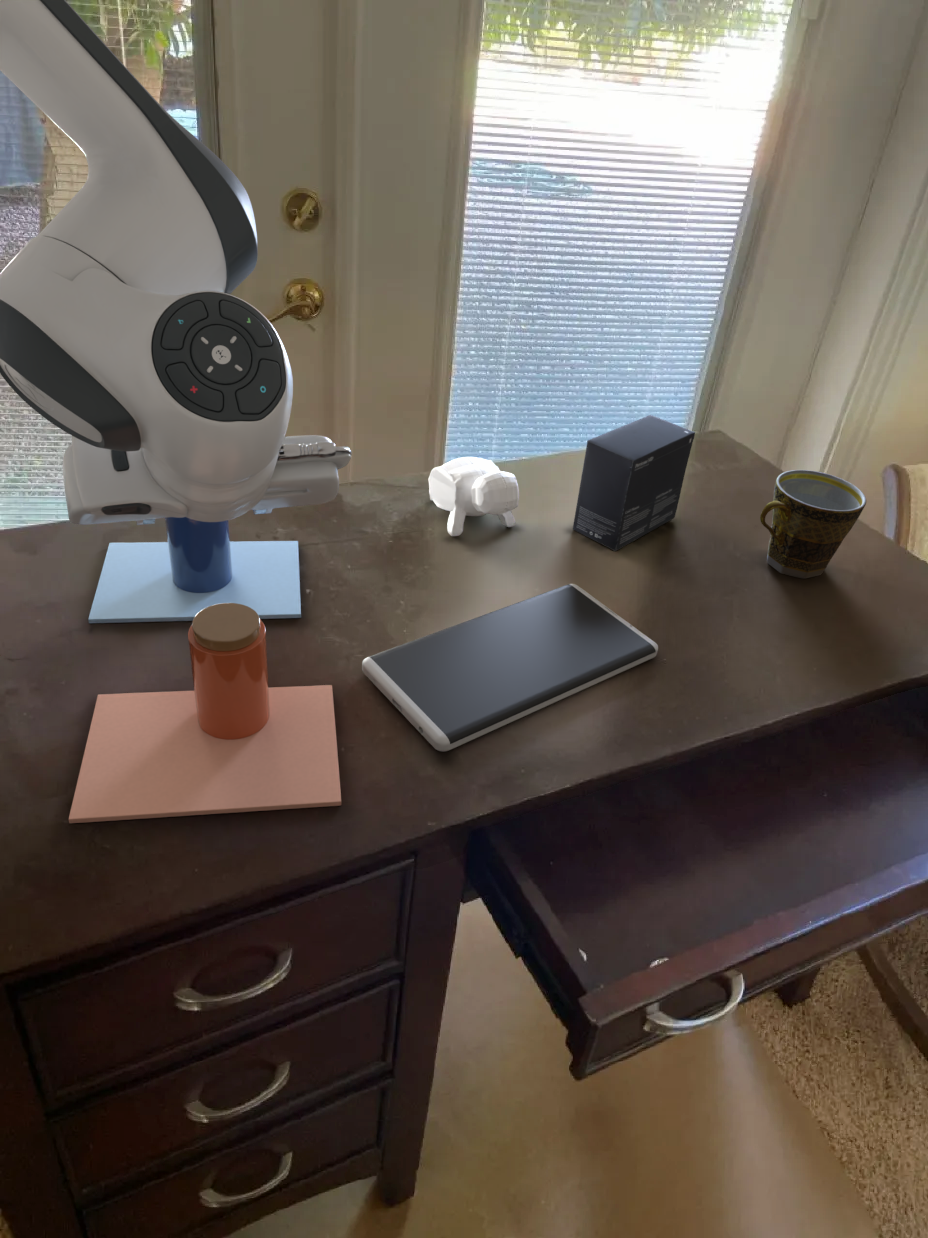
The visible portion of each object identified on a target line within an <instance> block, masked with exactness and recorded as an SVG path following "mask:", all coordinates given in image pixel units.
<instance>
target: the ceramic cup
mask: <svg viewBox="0 0 928 1238" xmlns="http://www.w3.org/2000/svg"><path fill="white" fill-rule="evenodd" d="M773 489H774V490H773V496H772V497H773V498H772V501H769V502H768V503H767V504H766V505H765V506H764V508H763V509H762V511H761V513H760V517H759V520H760V523H761V525H762V526H763V527H764V528H766V530H768V532H769V534H770V535H769V541H768V548H767V556H766V563H767V564H768V565H769V566H771V567H772V568H773V569H775V570H776V571H777V572H778V573H780V574H782V575H786V576H791V577H794V578H799V579H803V580H804V579H810V578H813V577H818V576H820V575H822V574H823V573H824V572H825V570H826V568H827V567H828V565H829V563H830V562H831V561H832V558H833V557H834V556H835V554H836V553H837V551H838V549H839V548H840V546H841V544H842V543H843V541H844V539H845V538H846V537H847V536H848V534H849V533H850V531H851V530H852V529H853V527H854V525H855V524H856V522H857V521H858V519H859V518H860V516H861V514H862V512H863V510H864V509H865V507H866V505H867V498H866V495H865V493H863V491H862V490H860V488H858V487H857V486H856V485H855V484H853V483H851V482H850V481H847V480H845V479H844V478H841V477H838V476H836V475H832V474H829V473H827V472H826V473H825V472H821V471H816V470H810V469H809V470H808V469H794V470H787V471H784V472H782V473H779V475H778V476H777V477H776V479H775V484H774V488H773ZM771 511H772V514H771V515H772V516H771V517H772V520H771V525H769V524H768V523H767V522H766V517H767V515H768V514H769V512H771Z"/></svg>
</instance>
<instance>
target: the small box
mask: <svg viewBox="0 0 928 1238" xmlns="http://www.w3.org/2000/svg"><path fill="white" fill-rule="evenodd" d="M695 436H696V431H693V430H690V429H688V428H686V427H684V426H680V425H678V424H676V423H673V422H671V421H668V420H666V419H662V418H660V417H658V416H655V415H652V414H648V415H646V416H644V417H642V418H639V419H636V420H634V421H631V422H629V423H626V424H624V425H623V426H619V427H617V428H615V429H612V430H610V431H607V432H605V433H602V434H599V435H598V436H595V437H593V438H590V439H588V440H587V441H586V447H585V454H584V459H583V466H582V470H581V477H580V482H579V483H580V484H579V490H578V494H577V495H578V496H577V502H576V507H575V514H574V518H573V525H572V530H574V531H576V533H579V534H581V535H583V536H585V537H587V538H589V539H591V540H593V541H594V542H597V543H599V544H601V545H602V546H604V547H606V548H608V549H610V550H612V551H614V552H616V551H619V550H620V549H622V548H624V547H625V546H628V545H629V544H632V543H633V542H634V541H636V540H638V539H640V538H641V537H643V536H645V535H647V534H648V533H651V532H652V531H654V530H656V529H657V528H659V527H661V526H663V525H664V524H666V523H668V522H670V521H672V520H673V519H675V518H676V513H677V510H678V505H679V502H680V497H681V492H682V487H683V483H684V480H685V474H686V470H687V467H688V463H689V458H690V455H691V451H692V447H693V443H694V440H695Z"/></svg>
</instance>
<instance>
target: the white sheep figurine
mask: <svg viewBox="0 0 928 1238" xmlns="http://www.w3.org/2000/svg"><path fill="white" fill-rule="evenodd" d="M517 479H518V478H517V477H516V476H515V474H514V473H512V472H508V471H504V470H503V471H502V470H500V468H499V466H498V465H496V464H495V462H493V460H492V459H485V458H483V457H476V456H462V457H458V458H457V457H456V458H455V459H452V460H450V461H448V462H446V463H444V464H442V465H440V466H435V467H433V468H432V469H431V471H430V473H429V476H428V478H427V480H428V488H429V489H428V494H429V501H432V502H433V503H434V504H435V505H436V507H437V508H439V509H442V510H445V511H448V512H449V515H448V518H447V525H446V530H447V533H448V534H449V536H451V537H458V536H460V535H461V534H462V533H463V532H464V522H465V520H466V517H467V516H468V517H480V516H481V517H482V516H484V515H487V514H489V515H493V516H498V520H499V521H500V523H501V524H502V525H504V527H508V528H512V527H515V525H516V519H515V516H514V514H513V513H512V511H513V510H516V509H517V508H518V506H519V500H520V488H519V484H518V480H517Z"/></svg>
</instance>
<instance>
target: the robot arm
mask: <svg viewBox="0 0 928 1238" xmlns="http://www.w3.org/2000/svg"><path fill="white" fill-rule="evenodd" d="M0 72H1V73H2V74H3V75H4V76H5V77H6V78H7V79H8V80H10V82H11V83H12V84H13V85H15V86H16V87H17V88H18V89H19V90H20V91H21V92H22V94H24V95H25V96H26V97H27V98H28V99H29V100H30V101H31V103H33V104H34V105H35V106H36V107H37V108H38V109H39V110H40V111H41V112H42V113H43V114H44V115H45V116H46V117H47V118H48V119H49V120H50V121H52V122H53V124H54V125H56V126H57V127H58V129H60V130H61V131H62V132H63V133H64V134H65V135H66V136H67V137H68V138H69V139H70V140H72V142H73V143H74V144H75V145H77V147H78V148H79V149H80V150H81V151H82V153H83V154H84V156H85V159H86V163H87V178H86V181H85V183H84V184H83V186H81V188H80V189H79V190H78V191H77V192H76V193H75V195H74V196H72V198H71V199H70V200H69V201H68V202H67V203H66V204H65V206H63V208H61V209H60V210H59V212H58V213H57V214H56V215H55V216H54V217H53V218H52V219H51V220H50V222H48V224H47V225H46V226H45V227H44V228H43V229H42V230H41V231H40V232H39V233H38V235H36V236H34V237H32V238H31V239H29V241H28V242H27V243H26V244H25V245H24V246H23V248H21V250H20V251H18V253H17V254H16V255H15V256H14V257H13V258H12V259H11V261H9V263H8V264H7V265H6V266H5V267H4V268H3V269H2V270H1V272H0V375H1V377H2V378H3V379H4V380H5V383H7V385H9V387H10V388H11V389H12V390H13V391H14V393H15V394H16V395H18V397H19V398H20V399H21V400H22V401H23V402H24V403H26V404H27V405H28V406H29V407H30V408H31V409H33V410H34V412H36V413H38V414H39V416H41V417H42V418H44V419H45V420H47V421H48V422H49V423H51V424H52V425H54V426H55V427H57V428H58V429H60V430H62V431H63V432H65V433H66V434H68V435H70V436H71V443H70V444H69V445H68V446H67V448H66V449H65V451H64V453H63V459H62V478H63V486H64V496H65V502H66V509H67V517H68V521H69V522H70V523H71V524H74V525H82V526H85V525H97V524H109V523H110V524H111V523H118V522H119V523H120V522H121V523H122V522H131V521H134V522H136V526H140V525H141V526H142V525H152V524H153V525H154V524H156V519H165V518H167V517H176V518H182V517H187V518H190V519H193V520H197V521H202V522H221V521H227V520H228V521H231V520H234V519H237V518H238V517H241V516H243V515H245V514H247V513H248V512H250V511H252V512H253V515H263V514H272V513H273V510H274V509H279V508H280V509H281V508H282V509H283V508H291V507H292V508H293V507H303V506H304V507H305V506H316V505H317V506H318V505H324V504H327V503H329V502H332V501H334V500H335V499H336V498H337V496H338V494H339V490H340V477H339V470H340V469H343V468H345V467H347V466H348V464H349V463H350V462H351V459H352V456H353V455H352V454H353V453H352V450H351V449H350V447H349V446H347V445H343V446H336V444H335V442H333V441H332V440H331V438H329V437H328V436H325V435H319V434H318V435H317V434H313V435H312V434H306V435H290V436H289V435H288V436H286V435H287V431H288V427H289V424H290V418H291V415H292V414H291V413H292V405H293V398H294V377H293V372H292V371H293V370H292V367H291V363H290V360H289V356H288V353H287V351H286V348H285V345H284V343H283V341H282V339H281V338H280V336H279V333H278V332H277V330H276V328H275V327H274V325H273V324H272V322H271V321H270V320H269V319H268V318H267V317H266V316H265V315H264V313H262V312H261V311H260V310H259V309H257V307H255V306H254V305H252V304H251V303H249V302H247V301H246V300H244V299H242V298H240V297H238V296H235V295H233V294H232V293H233V291H235V290H236V289H237V288H238V287H239V286H240V285H241V284H242V283H243V282H244V281H245V280H246V279H247V278H248V277H249V276H250V275H251V274H252V273H253V271H255V268H256V265H257V262H258V255H259V253H258V252H259V251H258V233H257V225H256V218H255V213H254V209H253V205H252V202H251V199H250V196H249V194H248V192H247V190H246V188H245V187H244V185H243V184H242V182H241V181H240V179H239V178H238V177H237V175H236V174H235V173H234V172H233V171H232V169H230V168H229V167H228V165H226V163H225V162H223V160H222V158H219V156H218V155H216V153H215V152H214V151H212V150H211V149H210V148H209V147H208V146H206V145H205V144H204V143H203V142H202V141H200V140H199V139H198V138H197V137H196V136H195V135H193V133H191V132H190V131H189V130H188V129H186V127H184V126H183V125H182V124H181V123H180V122H179V121H177V120H176V119H175V118H174V117H173V116H172V115H171V114H170V113H169V112H168V111H167V110H166V109H165V108H164V107H163V106H162V105H161V104H160V103H159V102H158V101H157V99H155V98H154V96H153V95H151V93H150V92H149V91H148V90H147V88H146V87H145V86H144V85H142V83H141V82H140V81H139V80H138V79H137V78H136V76H135V75H133V74H132V72H131V71H130V70H129V69H128V68H127V67H126V66H125V64H123V62H122V61H121V60H120V59H119V58H118V57H117V55H116V54H114V52H113V51H112V50H111V49H110V48H109V47H108V46H107V45H106V44H105V43H104V42H103V40H102V39H101V38H100V37H99V36H98V35H97V34H96V32H95V31H94V30H93V29H92V28H91V26H89V25H88V24H87V23H86V21H85V20H84V19H83V18H82V17H81V16H80V14H78V12H77V11H76V10H75V9H74V8H73V7H72V6H71V5H70V4H69V2H68V1H67V0H0Z"/></svg>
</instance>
